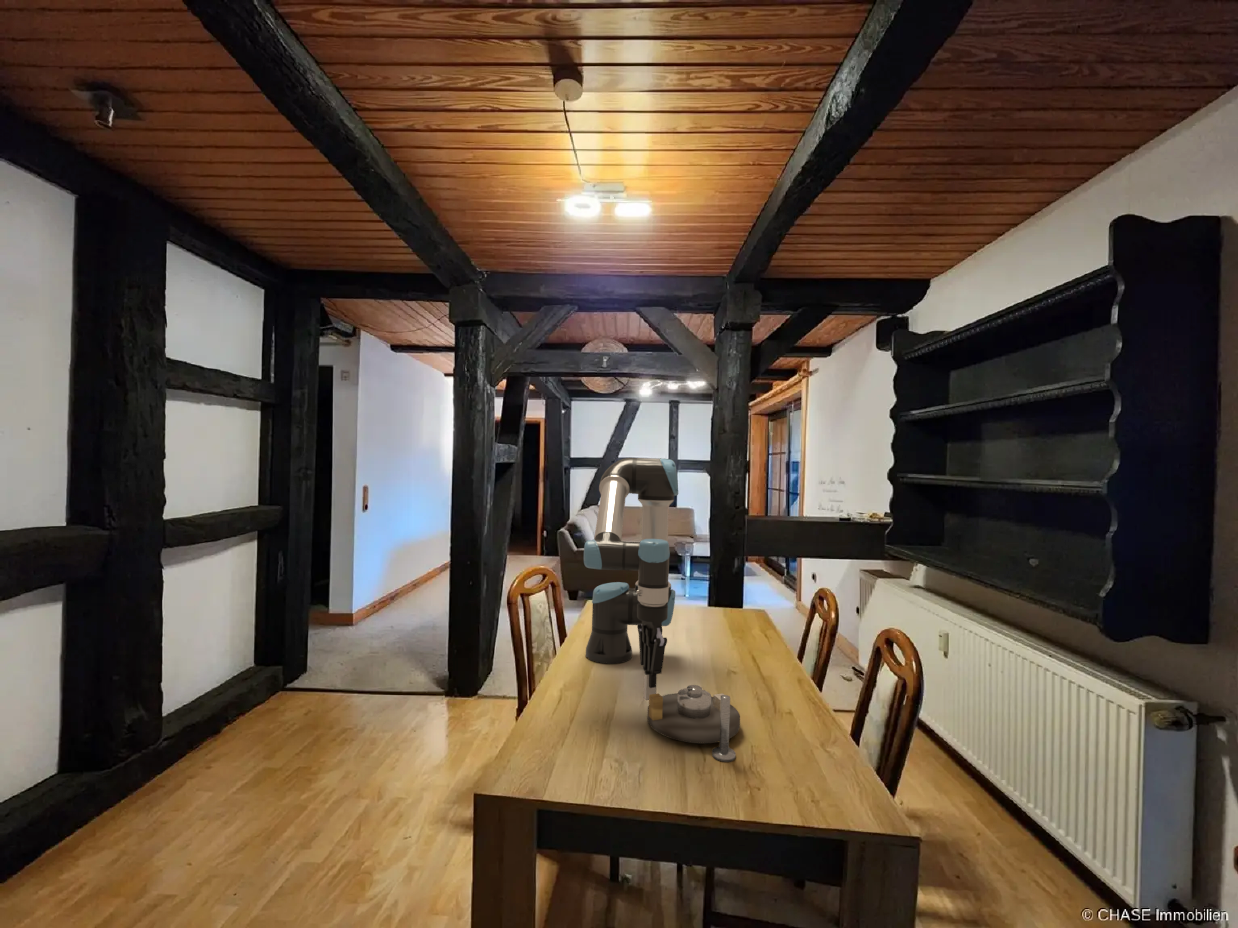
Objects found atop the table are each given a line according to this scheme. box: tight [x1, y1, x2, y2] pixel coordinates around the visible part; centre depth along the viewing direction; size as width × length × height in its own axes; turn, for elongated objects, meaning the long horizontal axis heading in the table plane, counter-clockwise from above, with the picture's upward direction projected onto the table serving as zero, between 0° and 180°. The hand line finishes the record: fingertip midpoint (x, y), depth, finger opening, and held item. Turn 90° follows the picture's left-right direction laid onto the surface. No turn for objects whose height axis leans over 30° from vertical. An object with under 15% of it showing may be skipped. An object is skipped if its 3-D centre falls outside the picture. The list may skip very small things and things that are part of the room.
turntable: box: [646, 692, 741, 744], centre depth 133 cm, size 22×22×7 cm
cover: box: [677, 684, 712, 719], centre depth 134 cm, size 8×8×6 cm
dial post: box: [711, 693, 736, 763], centre depth 120 cm, size 6×5×13 cm
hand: (649, 698), depth 136 cm, fingers closed
